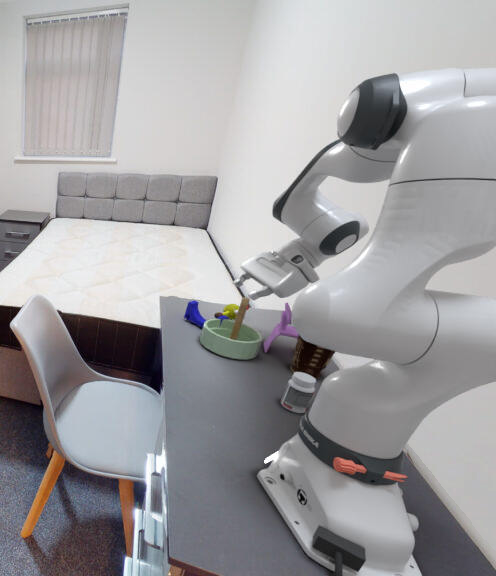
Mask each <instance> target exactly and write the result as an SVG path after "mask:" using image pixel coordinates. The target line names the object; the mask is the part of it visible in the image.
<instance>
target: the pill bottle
mask: <svg viewBox="0 0 496 576" xmlns="http://www.w3.org/2000/svg"><path fill="white" fill-rule="evenodd" d="M316 383H317V379H315V378H314V377H312V376H311V375H308V374H306V373H302V372H295V373H294V372H293V374H292V376H291V378H290V379H289V380H288V382H287V384H286V387H285V390H284V392H283V394H282V397H281V400H280V404H281V406H282V407H283V408H285V409H286V410H288V411H291V412H293V413H297V414H305V413H306V411H308V407H309V406H310V403H311V401H312V398H313V396H314V394H315V391H316V387H315V385H316Z"/></svg>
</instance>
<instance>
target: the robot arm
mask: <svg viewBox="0 0 496 576" xmlns="http://www.w3.org/2000/svg"><path fill="white" fill-rule="evenodd" d="M336 119H337V120H336V127H337V133H336V134H337V138H338V139H336V140H334V141H332V142H330V143H329V144H327V145H326V146H324V147H323V148H322V149H321V150H319V151H318V152H317V153H316V154H315V155H314V156H313V158H311V160H310V161H309V162H308V163H307V165H306V166H305V167H304V168H303V169H302V170H301V172H300V173H299V174H298V175H297V177H296V178H295V179H294V180H293V181H292V183H291V184H290V185H289V186H288V187H287V188H286V189H285V190H284V191H283V192H282V193H281V194H280V195H279V196H278V197H277V198H276V199H275V200H274V202H273V204H272V213H271V214H272V217H273V218H274V219H276V220H277V221H279V222H280V223H282V224H283V225H285V226H286V227H287V228H289V229H290V230H291V231H292V232H293V233H294V234H296V235H297V236H299V237H298V238H294V239H293V240H290V241H289V242H288V243H285V244H284V245H282V246H281V247H279V248H278V249H276V250H275V251H273V250H272V251H267V252H265V251H264V252H261V253H259V254H256V255H254V256H253V257H251V258H249V259H247V260H245V261H244V262H242V263H241V264H240V269H241V270H242V271H243V272H241V274H239V276H238V277H237V278H236V279H234V280H233V281H232V284H233V285H234V286H235V287H236V288H240V287H242V286H243V285H244V283H245V282H246V280H250V279H252V280H254V281H255V282H257V283H258V284H259V285H261V286H262V288H261V289H258V290H252V291H250V292H249V293H247V296H248V298H249V299H250V300H252V301H256V300H258V299H260V298H265V297H269V296H271V295H273V294H274V295H275V296H276V297H278V298H279V299H285V298H289V297H291V296H293V295H294V294H297V293H298V292H300V291H301V292H300V293H299V294H298V295H297V297H296V299H295V300H294V302H293V305H292V307H291V313H292V318H291V322H292V325H293V327H295V329H296V331H297V332H298V334H299V335H300V336H301V338H302V339H303V340H305V341H307V342H309V343H312V344H315V345H318V346H320V347H323V348H326V349H329V350H332V351H335V353H339V354H343V355H348V356H353V357H360V358H364V359H370V361H368V362H366V363H364V364H360V365H356V366H352V367H346V368H341V369H338V370H336V371H333V372H331V373H330V374H329V375H327V376H326V377H325V378H324V379H323V380H322V383H321V384H320V387H319V389H318V391H317V394H316V395H315V398H314V400H313V403H312V405H311V407H310V408H309V409H307V410H306V412H304V413H303V415H302V416H301V419H300V420H299V424H298V427H297V433H295V435H294V436H293V437H291V438H290V439H288V440H287V441H285V442H284V443H282V444H281V446H280V448H279V450H278V451H276V452H275V453H273V454H271V455H270V456H268V457H266V458H264V459H265V460H264V464H267V463H269V462H271V463H270V465H269V466H268V467H266V468H264V469H263V468H262V469H261V470H259V472H258V473H257V475H256V478H257V480H258V481H259V483H260V484H261V486H262V487H263V490H264V491H265V493H267V496H268V497H269V498H270V500H271V502H272V503H273V505H274V506H275V507H276V509H277V511H278V512H279V514H280V516H281V517H282V519H283V521H284V522H285V524H286V525H287V526H288V528H289V530H290V531H291V533H292V535H293V536H294V537H295V539H296V541H297V543H299V545H300V547H301V548H302V550H303V551H304V553H305V554H306V555H307V556H308V557H309V558H310V559H312V560H313V561H315V562H316V563H318V564H319V565H321V566H323V567H324V568H327V569H328V570H330V571H332V572H333V573H334V576H423V574H422V572H421V570H420V568H419V566H418V564H417V562H416V559H415V558H414V555H413V553H414V552H413V551H414V549H415V546H416V545H415V543H416V538H415V535H414V532H416V531H417V530H418V529H419V525H420V524H419V519H418V518H417V516H416V515H414V514H412V513H409V512H407V509H406V506H405V502H404V498H403V494H404V493H403V489H402V488H400V486H399V482H402V483H405V480H404V479H407V478H408V476H407V475H405V474H402V468H403V466H404V451H403V450H404V448H405V447H406V445H407V443H408V442H409V441H410V439H411V437H412V436H413V435H414V434H415V432H416V430H417V429H418V428H419V426H420V425H421V424H422V422H423V421H424V420H425V419H426V417H428V416H429V415H430V414H431V413H433V412H434V411H435V410H436V409H437V408H439V407H441V406H442V405H443V404H445V403H447V402H449V401H451V400H452V399H454V398H456V397H458V396H460V395H462V394H464V393H466V392H469V391H471V390H474V389H476V388H479V387H481V386H485V385H488V384H491V383H496V299H495V298H492V297H487V296H482V295H474V294H467V293H459V292H450V291H443V290H434V289H426V287H427V285H428V283H429V281H430V280H431V279H432V278H433V277H434V276H435V274H437V273H438V272H439V271H440V270H442V269H443V268H445V267H447V266H449V265H454V264H459V263H463V262H466V261H470V260H474V259H476V258H479V257H482V256H484V255H485V254H487V253H489V252H490V251H492V250H493V249H494V248H496V67H471V68H470V67H469V68H461V67H447V68H437V69H428V70H427V69H426V70H421V71H414V72H407V73H406V72H405V73H402V74H401V73H400V74H398V73H395V72H393V73H392V72H391V73H388V74H387V73H386V74H383V75H377V76H374V77H370V78H367V79H365V80H363V81H362V82H360V83H359V84H358V85H357V86H356V87H354V88H353V89H352V90H351V92H350V93H349V95H348V96H347V97H346V99H345V101H344V102H343V103H342V106H341V107H340V108H339V111H338V115H337V118H336ZM328 177H333V178H337V179H339V180H343V181H346V182H349V183H353V184H376V183H381V182H385V181H388V180H389V182H388V185H387V189H386V193H385V197H384V199H383V203H382V206H381V209H380V212H379V215H378V218H377V221H376V224H375V226H374V229H373V231H372V233H371V236H370V238H369V240H368V241H367V242H366V244H365V245H364V247H363V249H361V251H360V252H359V254H358V255H356V257H355V258H354V259H352V260H351V261H350V262H349V263H348V264H347V265H346V266H344V267H343V268H342V269H340V270H339V271H337V272H335V273H333V274H331V275H329V276H328V277H326V278H323V279H320V276H319V274H318V273H317V271H316V270H315V269H316V268H318V267H319V266H321V265H322V264H323V262H325V261H327V260H329V259H331V258H334V257H336V256H338V255H340V254H341V253H343V252H345V251H347V250H348V249H349V248H351V247H353V246H354V245H355V244H357V243H358V242H359V241H360V240H362V239H363V238H365V236H367V234H368V233H369V231H370V226H369V223H368V221H367V220H366V219H365V217H364V216H363V215H361V214H359V213H358V212H356V211H352V210H345V209H344V208H342V207H340V206H339V205H338V204H336V203H334V202H333V201H332V200H330V199H329V198H328V197H327V196H325V195H324V194H323V193H322V192H321V191H320V190H319V189H320V188H319V187H320V185H321V184H322V183H323V182H324V181H325V180H326V179H327V178H328ZM309 284H310V285H309Z"/></svg>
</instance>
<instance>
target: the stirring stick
mask: <svg viewBox="0 0 496 576" xmlns="http://www.w3.org/2000/svg"><path fill="white" fill-rule="evenodd" d="M250 300H251V298H250V297H247V296H242V298H241V301H240V304H239V310H238V313H237V316H236V319H234V321H235V323H234V326H233V329H232V332H231V335H230V338H229V339H233V340H237V338H238V334H239V331H240V328H241V325H242V323H243V322H244V319H245V316H246V313H247V311H248V310H247V307H248V305H249V303H250Z"/></svg>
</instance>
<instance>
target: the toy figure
mask: <svg viewBox="0 0 496 576" xmlns="http://www.w3.org/2000/svg"><path fill="white" fill-rule="evenodd" d="M239 307H240V305H238V304H236V303H229V304H226V305H225V306H224V307H223V310H222V312H221V311H217V312H215V313H214V314H213V316H214V319H217V317H219V316H223V315H225V316H227V317H228V320H232V321H233V320H235V319H236V316H237V313H238V310H239ZM249 309H250V305H249V304H248V307H247V310H246V311H248V310H249Z"/></svg>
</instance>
